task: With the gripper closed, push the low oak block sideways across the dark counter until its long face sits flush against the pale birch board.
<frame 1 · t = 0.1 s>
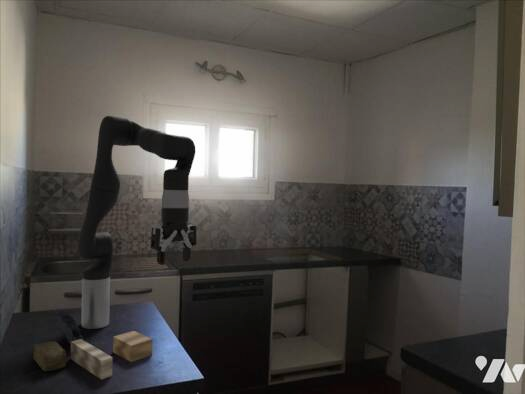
hand: (173, 262, 116), 29 cm above the countertop, fingers open, 8 cm apart
stone block: (49, 365, 114), on the countertop
board: (90, 367, 113), on the countertop
stone: (69, 344, 128), on the countertop
oak block: (132, 354, 123), on the countertop
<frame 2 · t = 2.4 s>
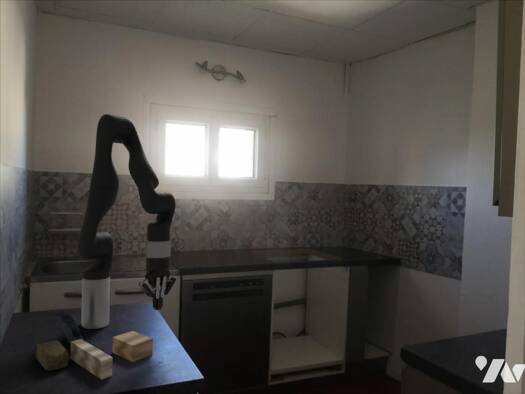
hand: (157, 309, 129), 12 cm above the countertop, fingers closed
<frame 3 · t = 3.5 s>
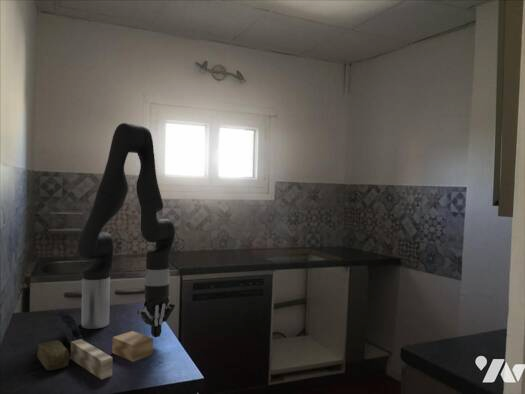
hand: (156, 336, 129), 3 cm above the countertop, fingers closed
nothing on the countertop moved.
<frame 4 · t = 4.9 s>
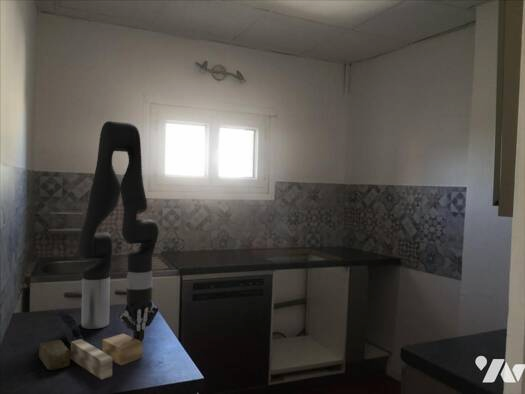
hand: (138, 341, 124), 3 cm above the countertop, fingers closed
oak block: (122, 357, 120), on the countertop
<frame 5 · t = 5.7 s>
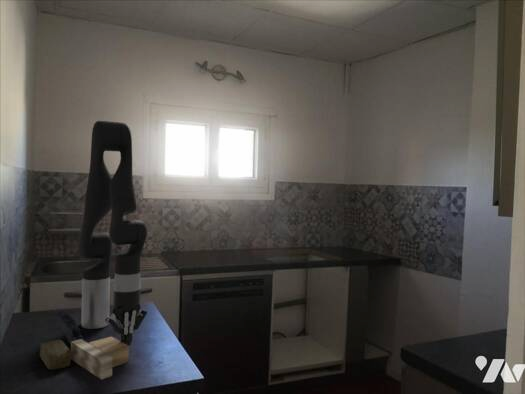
hand: (126, 345, 121), 3 cm above the countertop, fingers closed
oak block: (108, 361, 118), on the countertop, touching gripper
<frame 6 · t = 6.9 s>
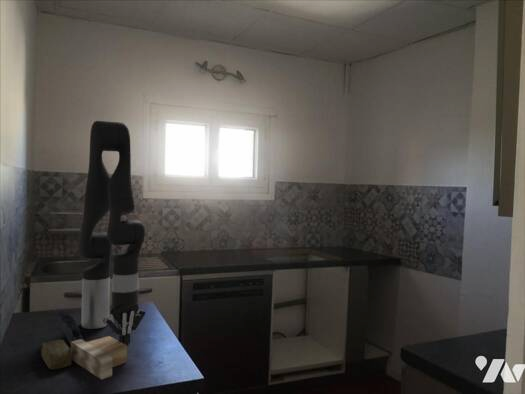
hand: (124, 345, 121), 3 cm above the countertop, fingers closed
oak block: (106, 360, 117), on the countertop, touching board, gripper
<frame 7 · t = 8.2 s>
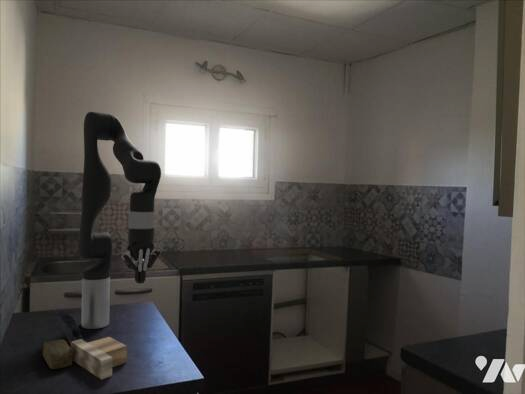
hand: (140, 282, 124), 21 cm above the countertop, fingers closed
oak block: (106, 361, 117), on the countertop
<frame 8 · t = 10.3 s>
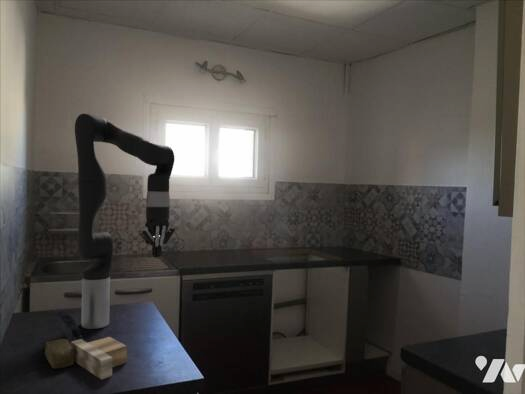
hand: (156, 257, 135), 27 cm above the countertop, fingers closed
at the end: oak block inside the target area on the countertop beside the board (0.7 cm from its centre), on the countertop; oak block tilted 0° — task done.
